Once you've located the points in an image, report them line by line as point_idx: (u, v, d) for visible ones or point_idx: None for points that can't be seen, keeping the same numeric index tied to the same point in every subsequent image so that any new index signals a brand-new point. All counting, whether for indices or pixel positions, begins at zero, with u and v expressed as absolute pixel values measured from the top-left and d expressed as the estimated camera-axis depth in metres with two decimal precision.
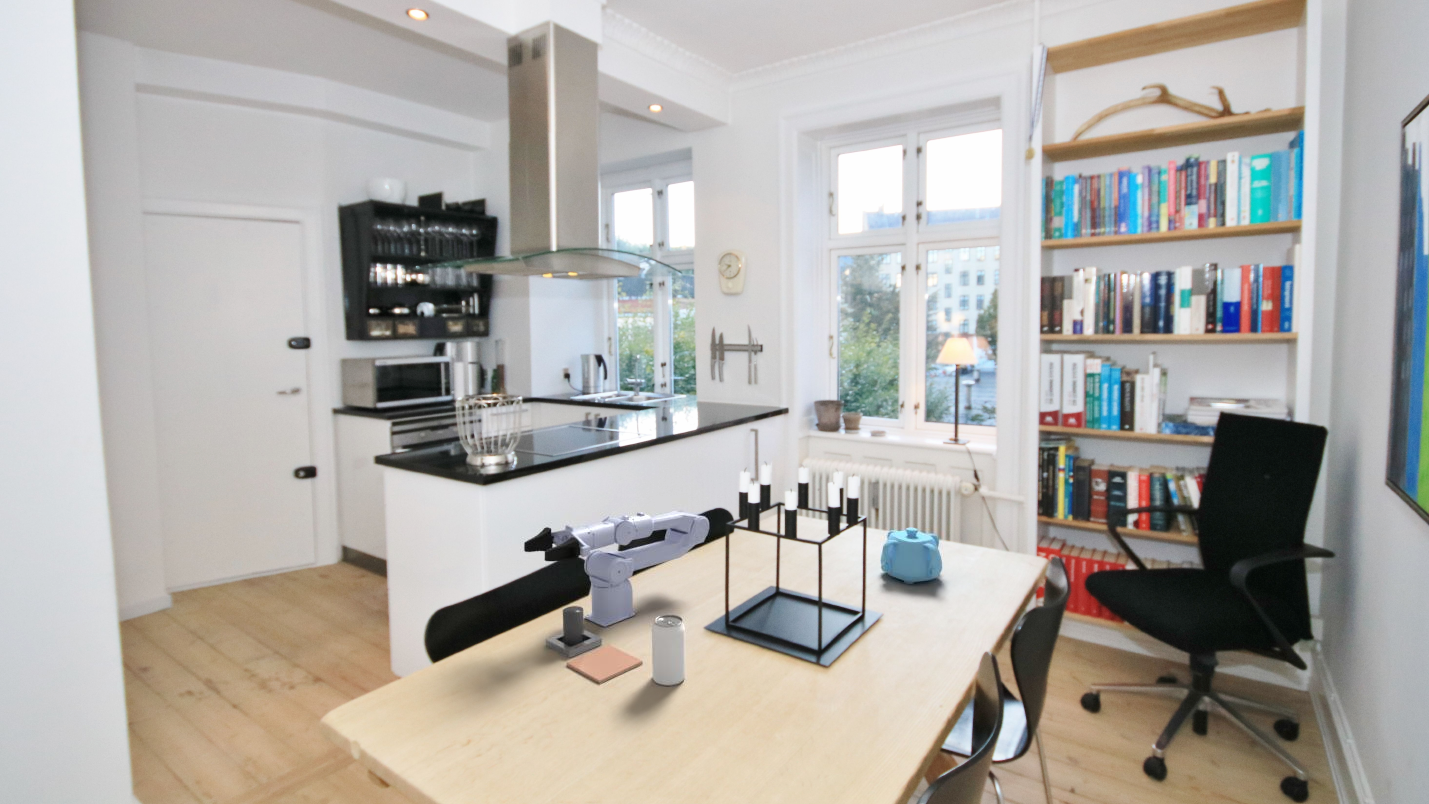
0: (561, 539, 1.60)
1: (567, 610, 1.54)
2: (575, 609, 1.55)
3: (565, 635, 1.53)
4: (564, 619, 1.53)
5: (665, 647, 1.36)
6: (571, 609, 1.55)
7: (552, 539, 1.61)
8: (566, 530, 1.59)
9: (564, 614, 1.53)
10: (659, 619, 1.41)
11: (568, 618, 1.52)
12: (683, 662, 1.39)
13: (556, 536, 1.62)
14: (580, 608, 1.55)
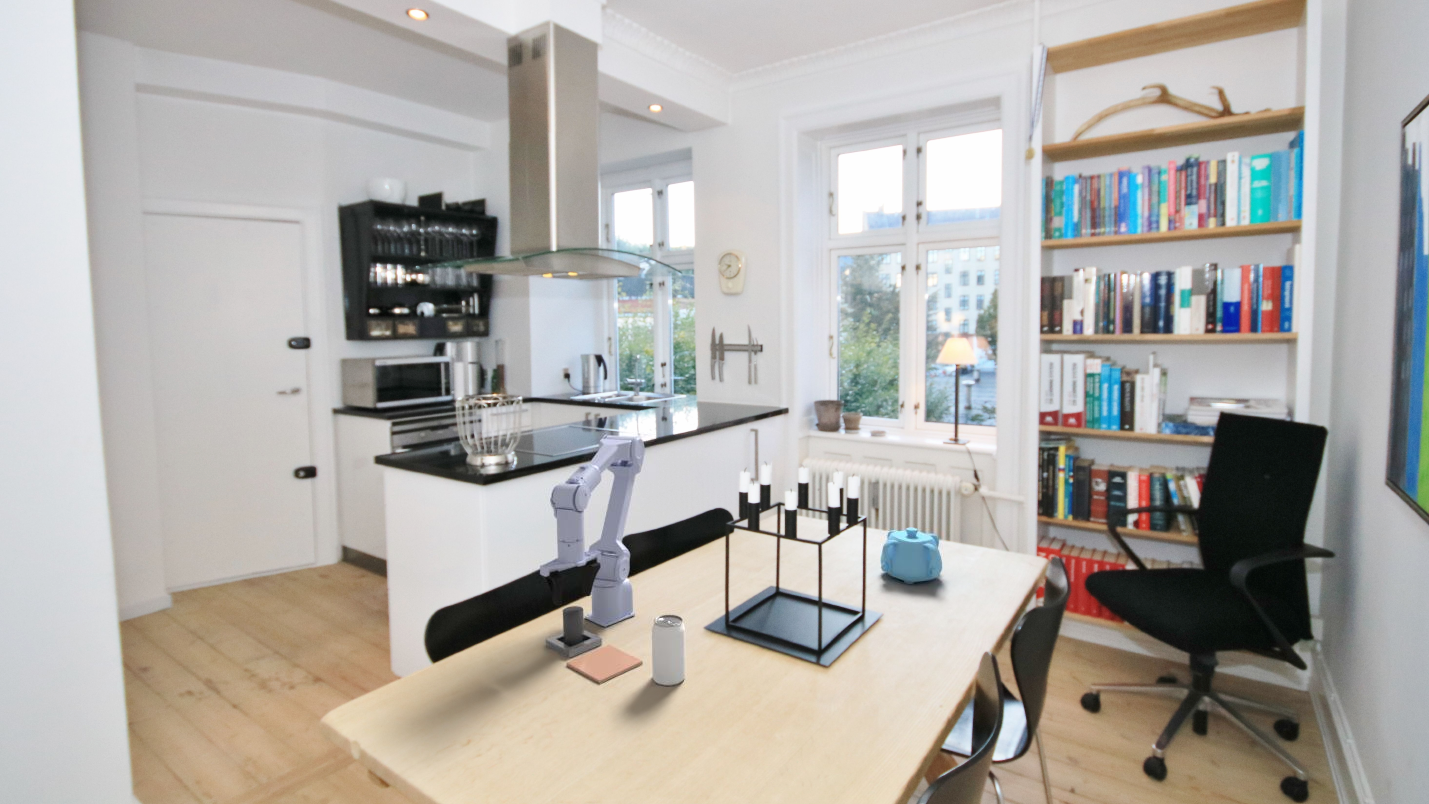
0: None
1: (567, 610, 1.54)
2: (575, 609, 1.55)
3: (565, 635, 1.53)
4: (564, 619, 1.53)
5: (665, 647, 1.36)
6: (571, 609, 1.55)
7: None
8: None
9: (564, 614, 1.53)
10: (659, 619, 1.41)
11: (568, 618, 1.52)
12: (683, 662, 1.39)
13: None
14: (580, 608, 1.55)
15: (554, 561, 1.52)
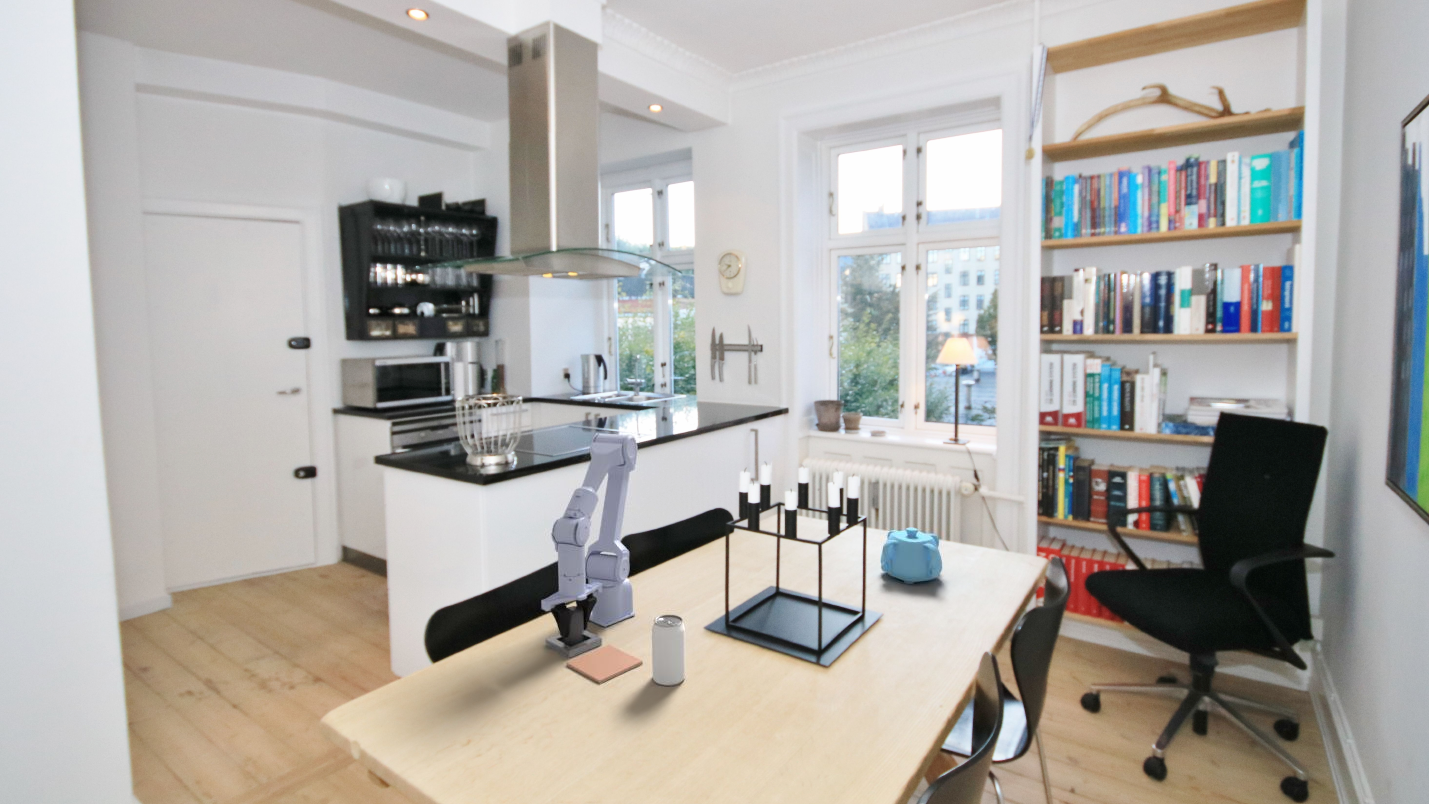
0: None
1: None
2: (575, 609, 1.55)
3: None
4: None
5: (665, 647, 1.36)
6: (571, 609, 1.55)
7: None
8: None
9: None
10: (659, 619, 1.41)
11: None
12: (683, 662, 1.39)
13: None
14: (580, 608, 1.55)
15: (555, 595, 1.53)
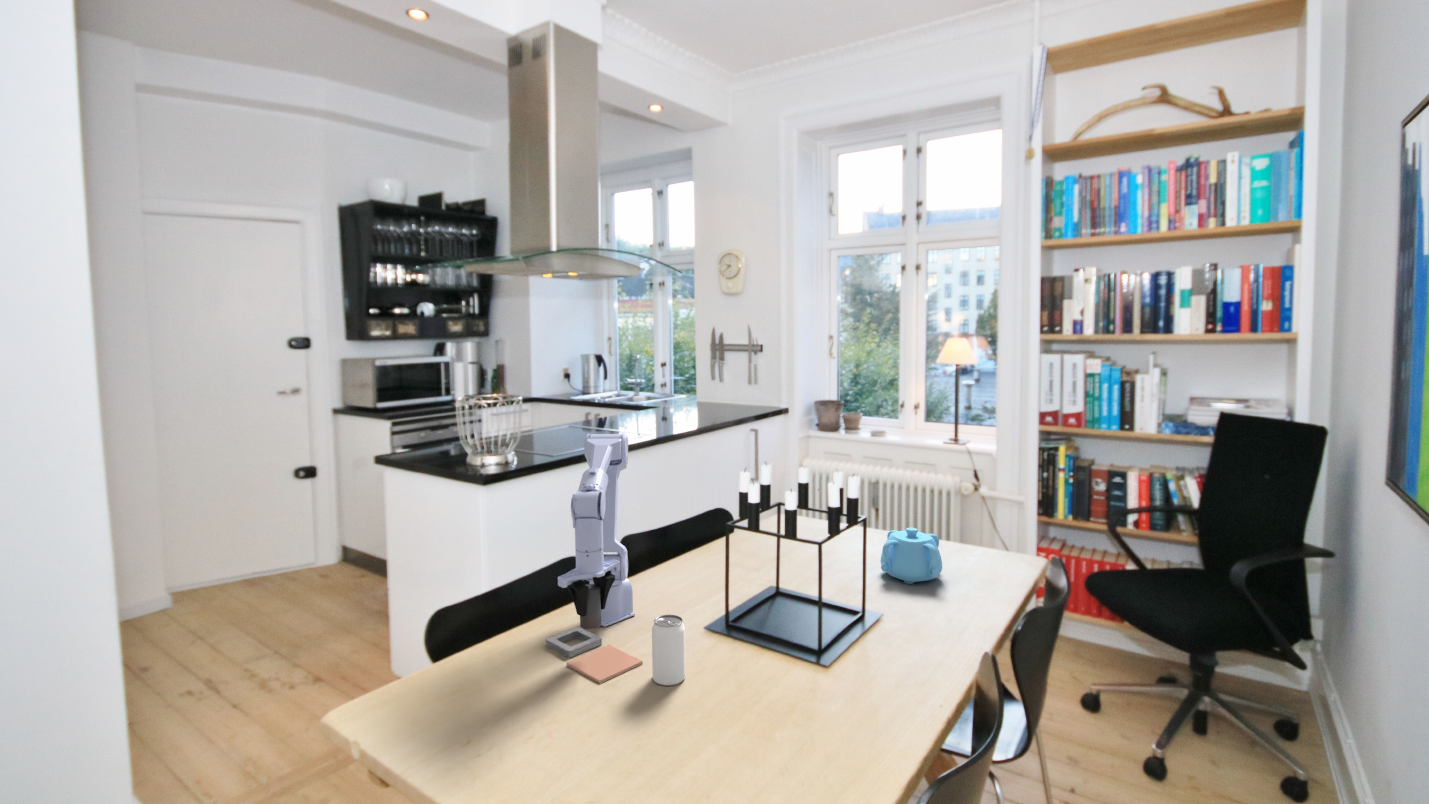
0: None
1: None
2: (592, 587, 1.48)
3: None
4: None
5: (665, 647, 1.37)
6: None
7: None
8: None
9: None
10: (659, 619, 1.41)
11: None
12: (683, 662, 1.39)
13: None
14: (597, 586, 1.49)
15: (572, 572, 1.47)
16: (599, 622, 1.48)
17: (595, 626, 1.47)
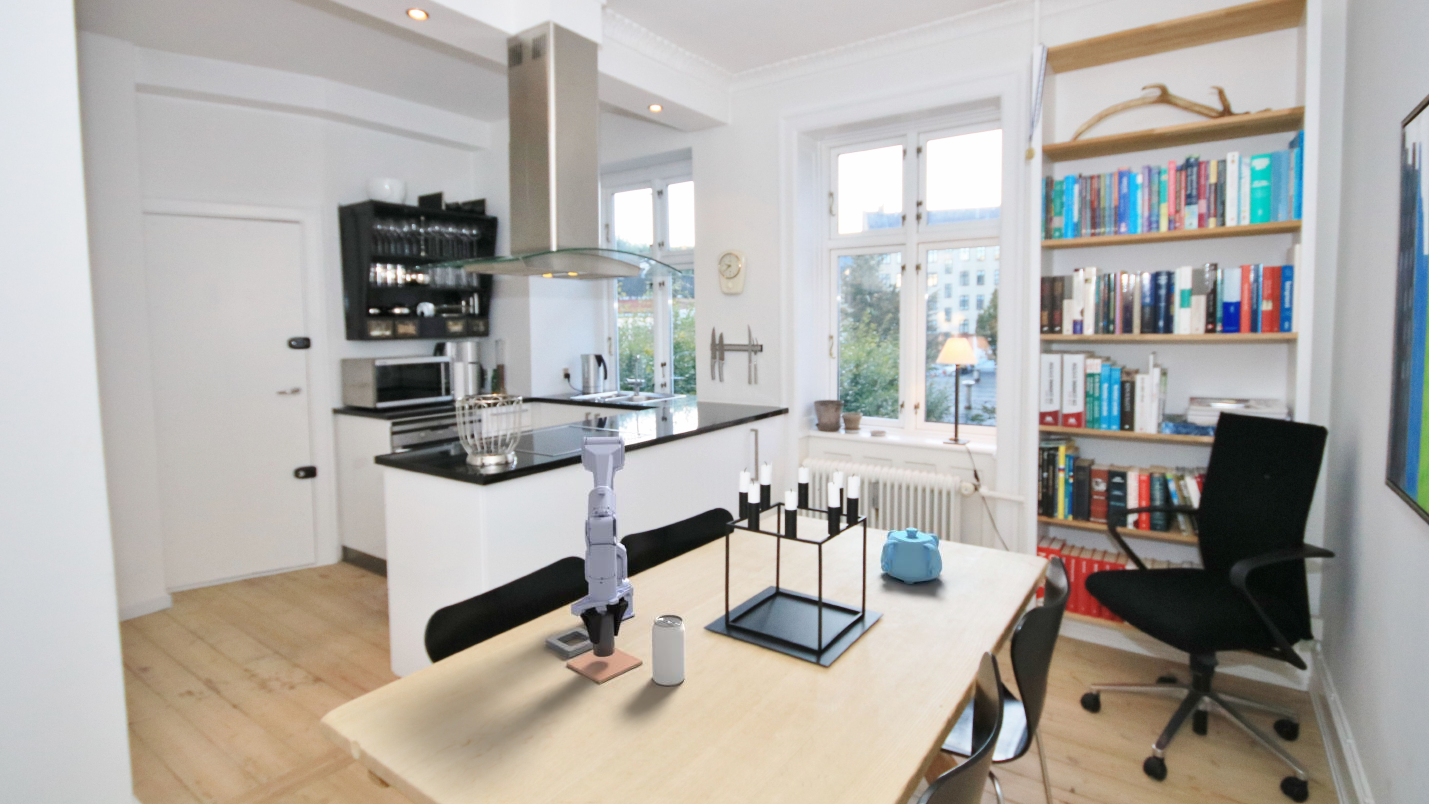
0: None
1: None
2: (605, 614, 1.46)
3: None
4: None
5: (665, 647, 1.36)
6: (600, 613, 1.46)
7: None
8: None
9: None
10: (659, 619, 1.41)
11: None
12: (683, 662, 1.39)
13: None
14: (610, 612, 1.46)
15: (585, 598, 1.44)
16: (612, 649, 1.45)
17: (608, 654, 1.44)
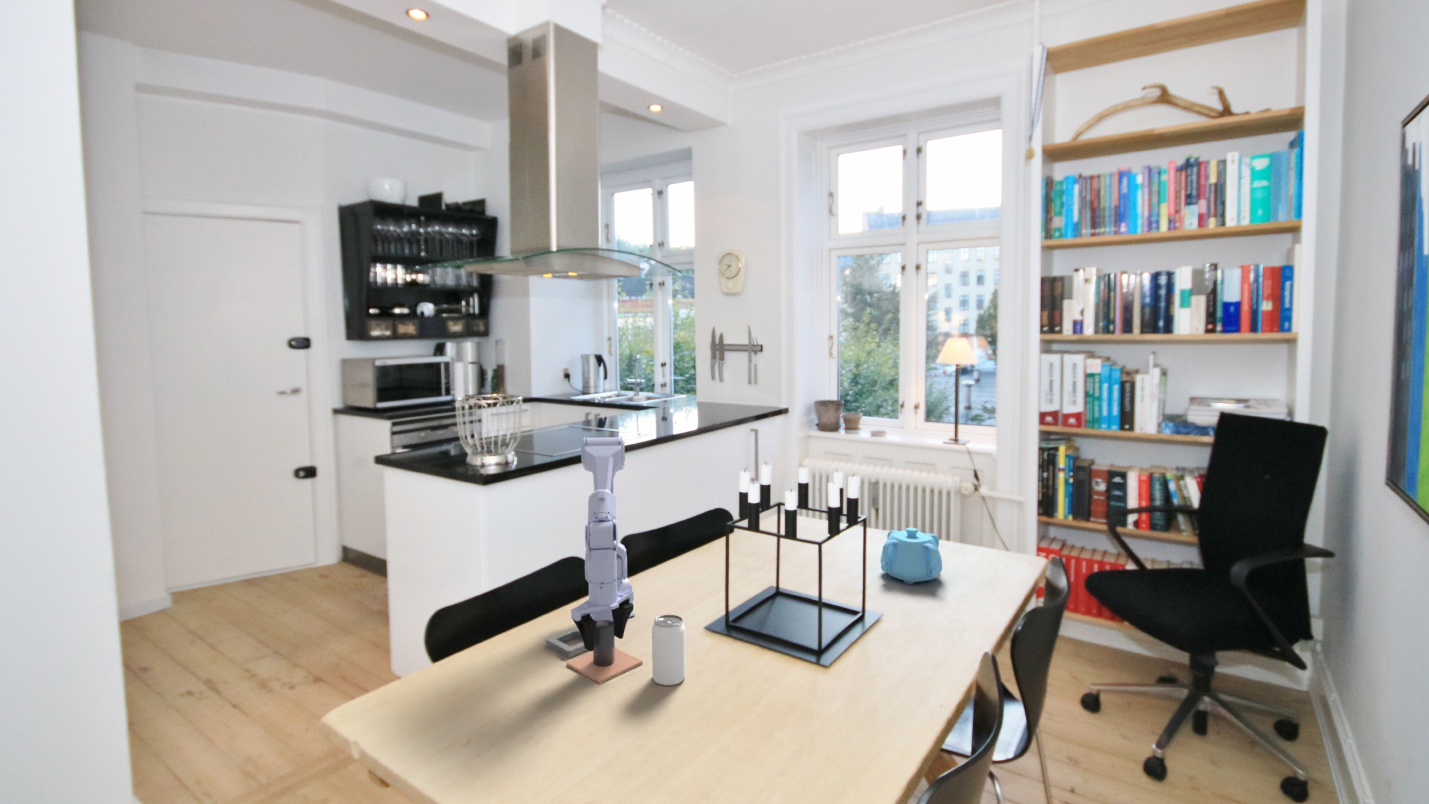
0: None
1: (597, 624, 1.45)
2: (606, 623, 1.46)
3: (595, 651, 1.45)
4: (594, 634, 1.44)
5: (665, 647, 1.36)
6: (601, 623, 1.46)
7: None
8: None
9: None
10: (659, 619, 1.41)
11: (598, 633, 1.44)
12: (683, 662, 1.39)
13: None
14: (610, 622, 1.46)
15: (585, 603, 1.44)
16: (613, 659, 1.45)
17: (609, 663, 1.45)
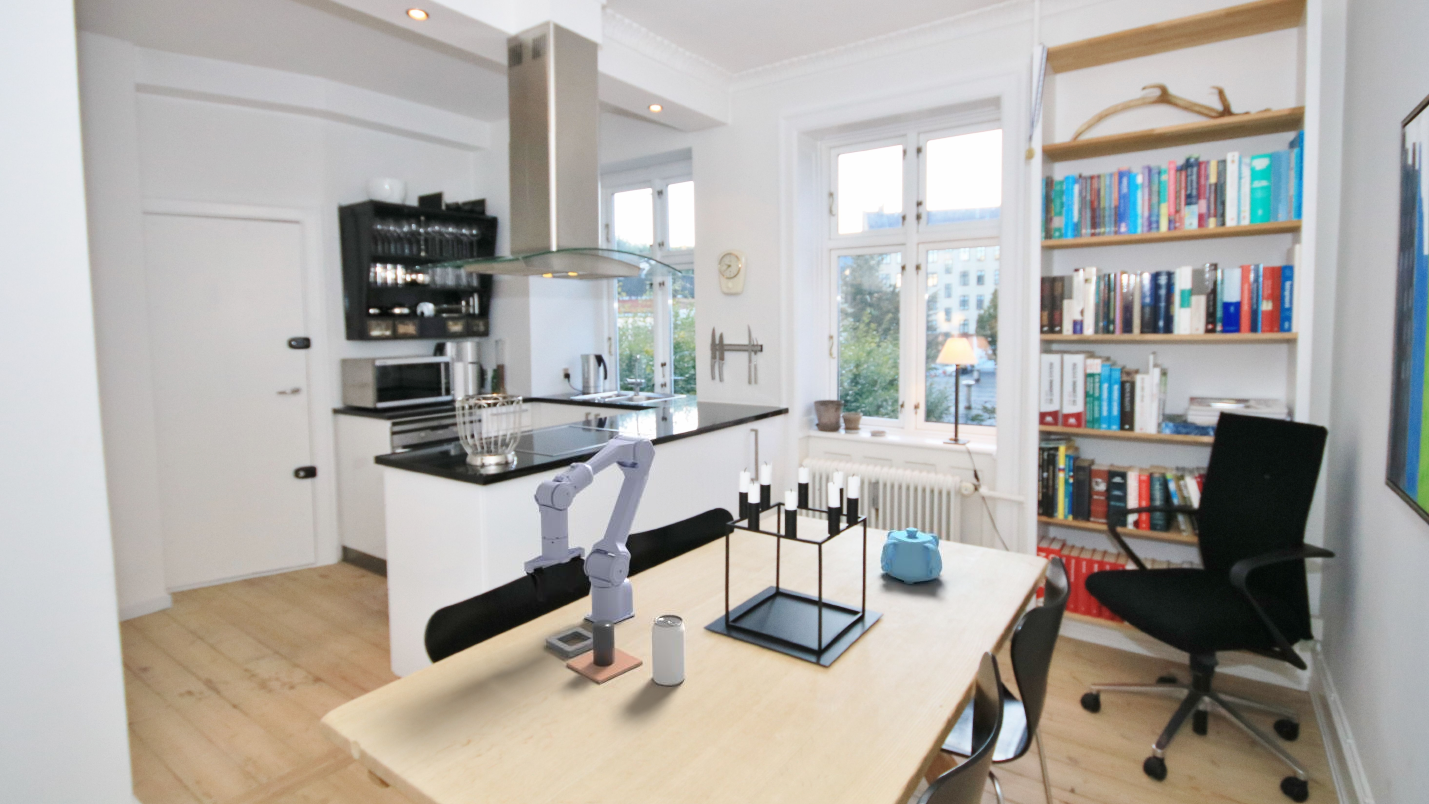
0: None
1: (597, 624, 1.45)
2: (606, 623, 1.46)
3: (595, 651, 1.45)
4: (594, 634, 1.44)
5: (665, 647, 1.36)
6: (601, 623, 1.46)
7: None
8: None
9: (594, 629, 1.44)
10: (659, 619, 1.41)
11: (598, 633, 1.44)
12: (683, 662, 1.39)
13: None
14: (611, 622, 1.46)
15: (538, 558, 1.54)
16: (613, 659, 1.45)
17: (609, 663, 1.45)
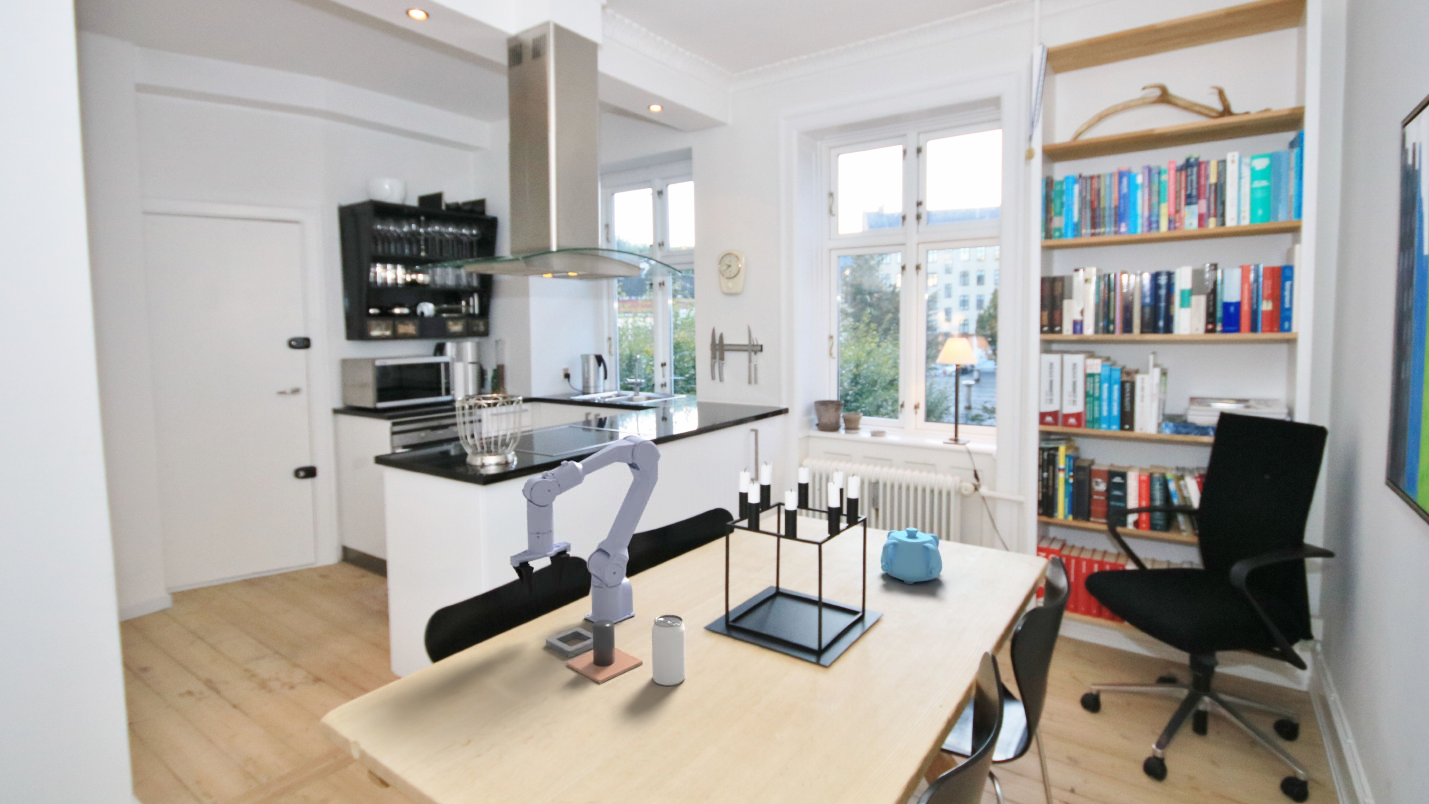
0: None
1: (597, 624, 1.45)
2: (606, 623, 1.46)
3: (595, 651, 1.45)
4: (594, 634, 1.44)
5: (665, 647, 1.36)
6: (601, 623, 1.46)
7: None
8: None
9: (594, 628, 1.44)
10: (659, 619, 1.41)
11: (599, 633, 1.44)
12: (683, 662, 1.39)
13: None
14: (611, 622, 1.47)
15: (524, 552, 1.58)
16: (613, 659, 1.45)
17: (609, 663, 1.45)
